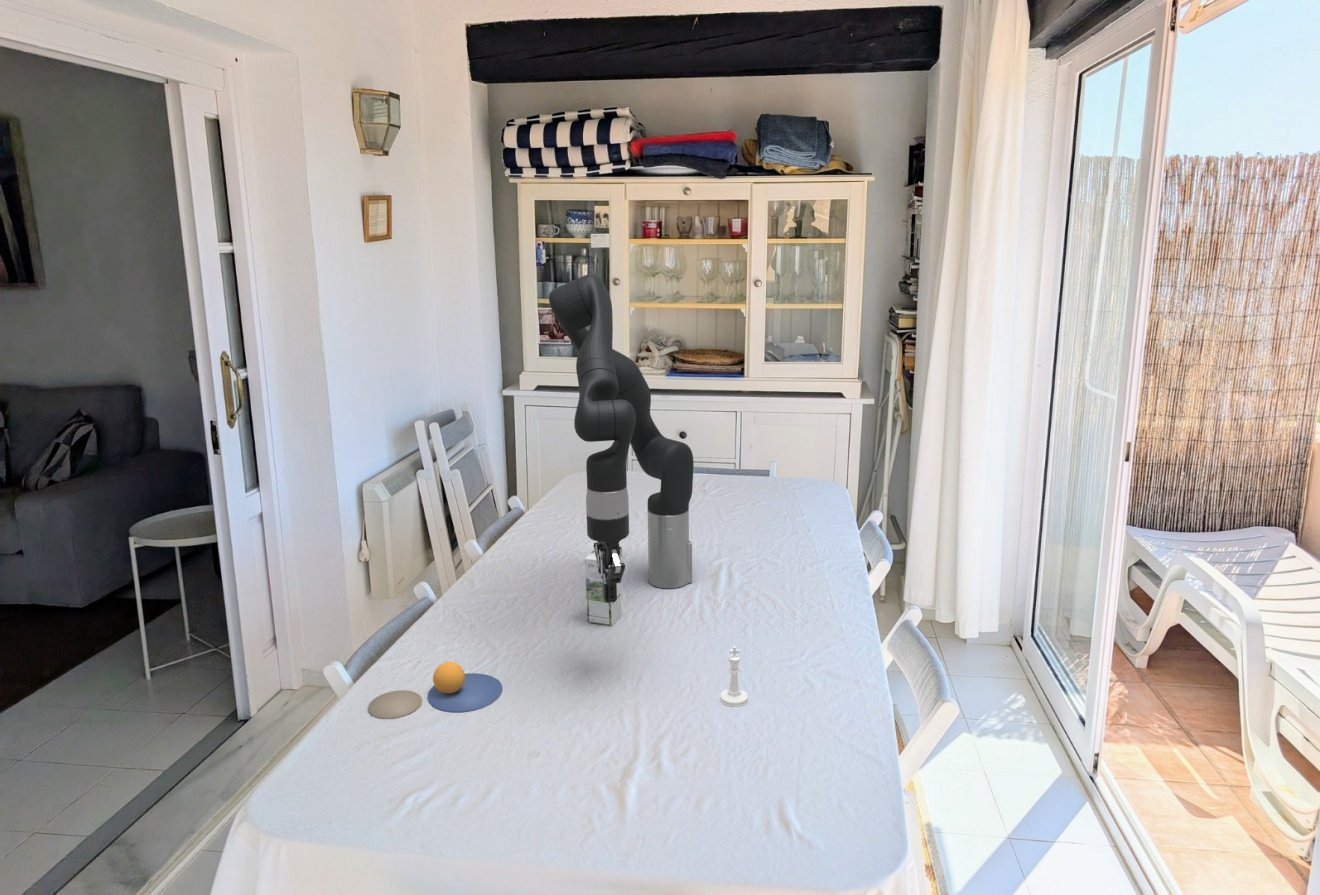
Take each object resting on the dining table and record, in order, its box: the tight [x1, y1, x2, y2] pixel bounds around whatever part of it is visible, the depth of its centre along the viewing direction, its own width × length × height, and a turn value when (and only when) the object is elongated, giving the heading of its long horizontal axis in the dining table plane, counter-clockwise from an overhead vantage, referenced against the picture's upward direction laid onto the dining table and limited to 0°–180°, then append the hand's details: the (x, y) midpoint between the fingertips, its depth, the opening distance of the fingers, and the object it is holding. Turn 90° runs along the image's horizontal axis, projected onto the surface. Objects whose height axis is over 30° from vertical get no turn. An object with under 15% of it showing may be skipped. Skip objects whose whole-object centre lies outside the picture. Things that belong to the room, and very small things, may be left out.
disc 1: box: [367, 689, 423, 720], centre depth 158 cm, size 9×9×1 cm
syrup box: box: [584, 549, 623, 627], centre depth 188 cm, size 6×6×14 cm
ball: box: [432, 661, 466, 694], centre depth 162 cm, size 6×6×6 cm
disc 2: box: [427, 672, 503, 713], centre depth 162 cm, size 13×13×1 cm
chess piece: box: [719, 645, 749, 708], centre depth 158 cm, size 5×5×10 cm
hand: (610, 600), depth 167 cm, fingers closed
